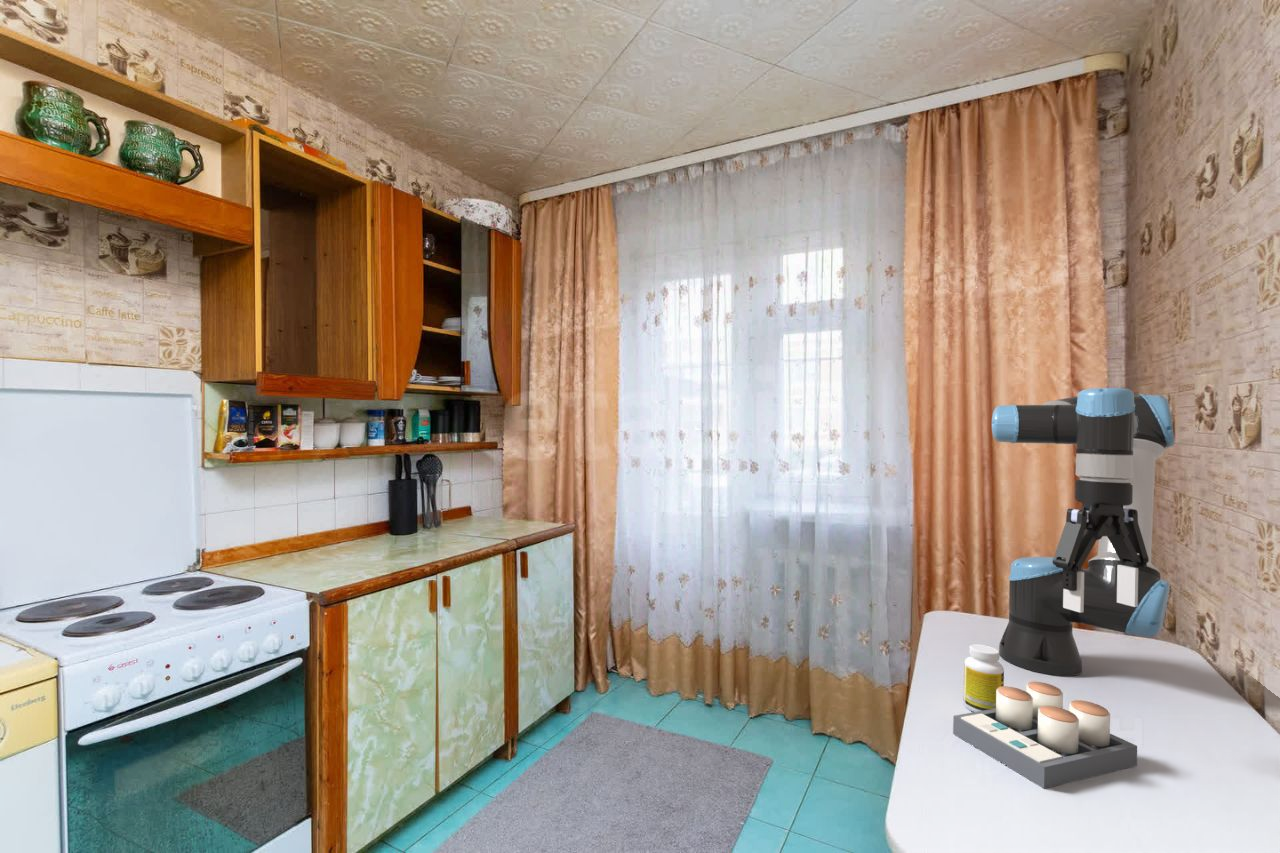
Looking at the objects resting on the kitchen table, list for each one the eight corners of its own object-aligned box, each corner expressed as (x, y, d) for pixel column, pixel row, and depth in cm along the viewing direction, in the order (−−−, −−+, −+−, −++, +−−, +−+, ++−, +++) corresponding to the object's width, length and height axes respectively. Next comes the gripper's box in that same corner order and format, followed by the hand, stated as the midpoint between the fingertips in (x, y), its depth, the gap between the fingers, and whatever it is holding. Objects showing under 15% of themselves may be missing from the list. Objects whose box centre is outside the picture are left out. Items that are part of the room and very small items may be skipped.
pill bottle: (1009, 720, 99) (1010, 657, 99) (970, 715, 100) (972, 653, 100) (994, 703, 105) (996, 644, 105) (958, 699, 106) (959, 640, 106)
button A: (1039, 707, 98) (1040, 679, 98) (1069, 721, 93) (1070, 692, 93) (1018, 711, 96) (1019, 682, 96) (1048, 725, 91) (1049, 696, 92)
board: (1038, 717, 100) (1039, 698, 100) (1136, 765, 86) (1137, 743, 86) (953, 733, 93) (953, 713, 93) (1044, 788, 79) (1044, 764, 79)
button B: (1082, 727, 91) (1083, 697, 91) (1117, 743, 86) (1118, 712, 87) (1061, 732, 90) (1061, 701, 90) (1095, 748, 85) (1096, 716, 85)
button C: (1010, 712, 96) (1010, 684, 96) (1039, 727, 91) (1040, 697, 91) (988, 716, 94) (989, 687, 94) (1017, 731, 89) (1018, 701, 89)
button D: (1052, 733, 89) (1052, 703, 89) (1086, 750, 84) (1087, 718, 84) (1029, 738, 87) (1030, 707, 87) (1063, 756, 83) (1063, 723, 83)
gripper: (1126, 478, 102) (1124, 596, 102) (1028, 477, 94) (1025, 605, 94) (1177, 482, 95) (1175, 608, 95) (1075, 481, 87) (1072, 619, 87)
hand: (1100, 607), depth 94 cm, fingers open, 12 cm apart
